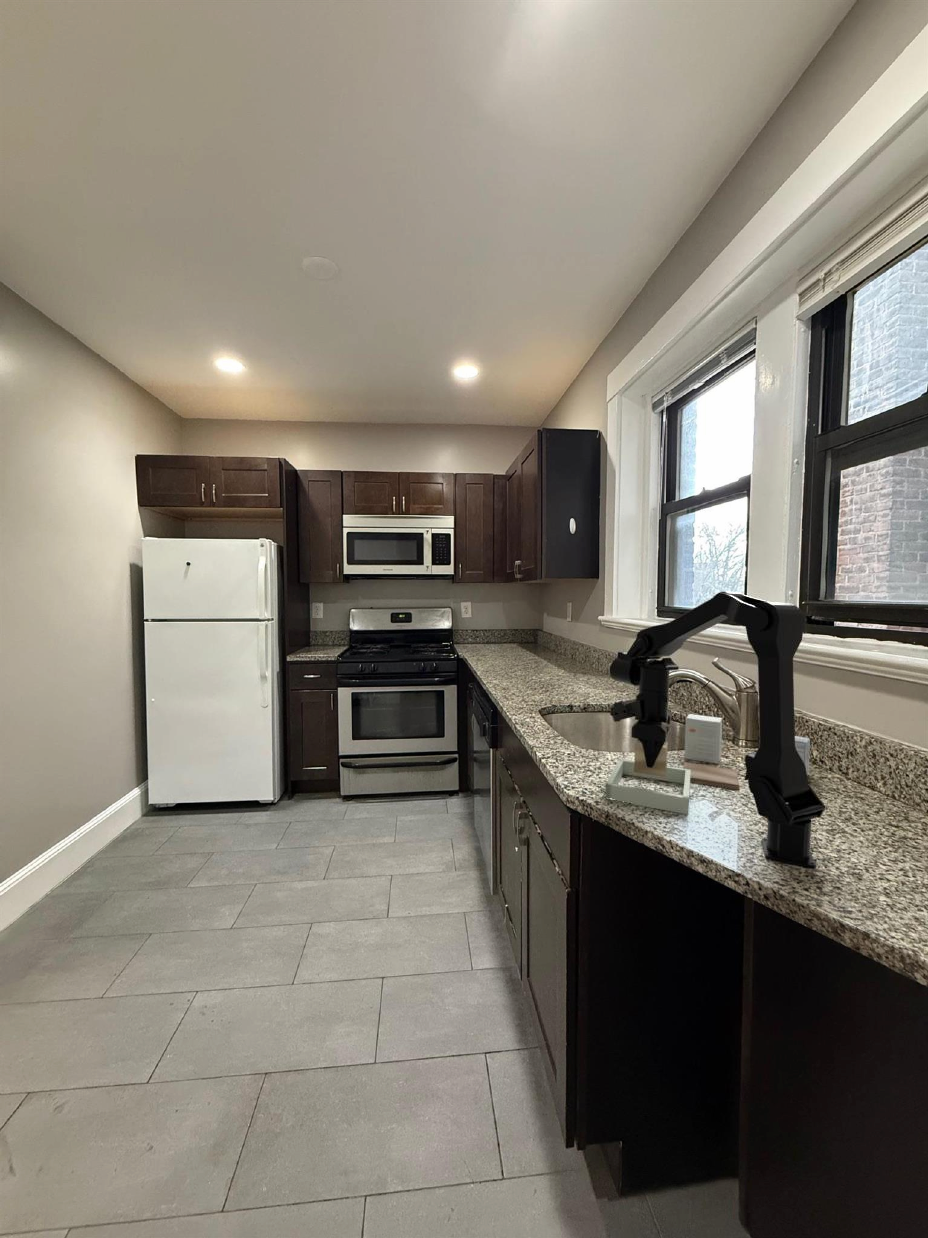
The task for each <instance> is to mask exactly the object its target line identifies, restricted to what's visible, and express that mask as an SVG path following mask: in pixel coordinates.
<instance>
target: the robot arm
mask: <svg viewBox="0 0 928 1238" xmlns="http://www.w3.org/2000/svg"><path fill="white" fill-rule="evenodd" d="M727 619H729V620H730V621H732V622H733V623H735V624H738V625H741V626H743V627H745V631H746V637H747V641H748V643H749V645H750V646H751V648H752V649H753V652H754V653H755V655H756V657H757V676H758V678H757V679H758V681H757V684H758V717H759V718H758V721H759V722H758V724H759V726H758V727H759V728H758V730H759V733H758V734H759V745H758V748H757V750H756V752H755V753H749V754H745V757H744V763H745V769H746V770H745V776H744V781H748V783H747V784H748V790H749V791H750V793H751V794H752V796H753V799H754V803H755V808H756V810H757V814H758V815H759V816H760V817H763V818H765V819H766V820H767V829H766V832H767V833H766V838H762V839H761V845H762V848H763V851H764V856H765V858H767V859H769V860H773V861H778V862H782V863H787V864H792V865H798V866H801V867H807V868H812V869H816V868H817V862H815V859H814V857H813V854H812V852H811V838H812V837H811V836H812V820H813V819H816V818H817V819H818V818H821V817H822V816H823V814H824V813H825V810H826V807H827V806H826V805H825V804H824V802H823V801H822V800H821V799H820V797H819V796H818V795H817V793H816V792H815V790H814V789H813V788H812V787H811V785H810V783H809V778H808V777H809V776H807V772H806V767H805V764H804V762H803V761H802V759H801V757H800V755H799V754H798V752H797V750H796V747H795V736H796V734H795V733H796V730H795V729H796V728H795V727H796V725H795V693H794V692H795V688H794V687H795V686H794V656H795V655H796V652H798V651H797V650H798V649H799V647H800V645H801V643H802V641H803V635H804V628H805V622H806V618H805V614H804V612H803V610H802V609H801V608H799V606H797V605H795V604H793V603H792V602H790V603H789V602H777V601H776V602H774V601H773V602H771V601H768V600H764V599H760V598H756V597H753V596H749V595H745V594H743V593H741V592H739V591H720V592H718V593H716V594H714V596H713V597H711V598H710V599H708V600H706V601H704V602H703V603H701V604H699V605H698V606H696V607H694V608H692V609H689V611H686V612H685V613H683V614H681V615H680V616H678V617H676V618H674V619H672V620H671V621H669V622H666V623H662V624H661V623H660V624H656V625H652V626H650V627H646V628H643V629H641V630H639V631H638V632H637V633H636V638H635V640H634V642H632V645H631V646H630V648H629V649H628V650H627V651H618V652H617V657H615V658H614V659H613V660H612V662H611V664H610V666H609V675H610V676H611V678H612V680H614V681H615V682H619V683H623V684H627V685H632V686H636V687H637V686H638V687H639V688H638V693H637V695H636V696H635V698H633V699H628V700H624V701H623V700H620V701H618V702H617V701H615V702H614V703H612V704H611V705H610V706H609V710H610V712H609V713H610V716H612V720H613V722H614V723H617V722H620V721H622V720H627V719H630V718H634V720H635V722H634V723H633V725H632V726H631V732H630V733H631V735H630V737H631V738H633V739H636V740H637V739H638V740H639V741H640V742H641V743H642V745H643V750H644V755H645V760H646V765H647V767H649V768H653V766H654V764H655V761H656V759H657V757H658V755H659V753H660V751H661V749H662V747H663V745H664V743H665V742H667V737H668V736H667V735H668V732H669V730H670V726H668V725H671V723H672V721H671V719H672V713H671V712H670V711H669V699H670V692H669V691H670V690H669V689H670V687H669V686H670V671H678V670H679V668H680V667H679V666H678V665H677V664H676V663H675V662H674V661H673V659H672V658H671V657H670V656H672V655H673V654H675V653H676V652H677V651H679V649H681V648H682V646H683V645H684V643H685V642H686V641H687V640H688V639H690V638H692V637H694V636H696V635H698V634H700V633H702V632H704V631H706V630H708V629H710V628H712V627H713V626H716V625H717V624H720V623H721V622H724V621H725V620H727ZM661 658H662V659H661ZM664 723H665V724H666V725H665V724H664Z"/></svg>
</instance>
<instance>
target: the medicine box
mask: <svg viewBox="0 0 928 1238" xmlns="http://www.w3.org/2000/svg"><path fill="white" fill-rule="evenodd" d="M795 747H796V750H797V752H798V754H799V755H800V757H801V759H802V761H803V762H804V764H805V767H806V772H807V777H809V774H810V753H811V752H810V751H811V739H810V738H808V737H803V736H799V735H795Z"/></svg>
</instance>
